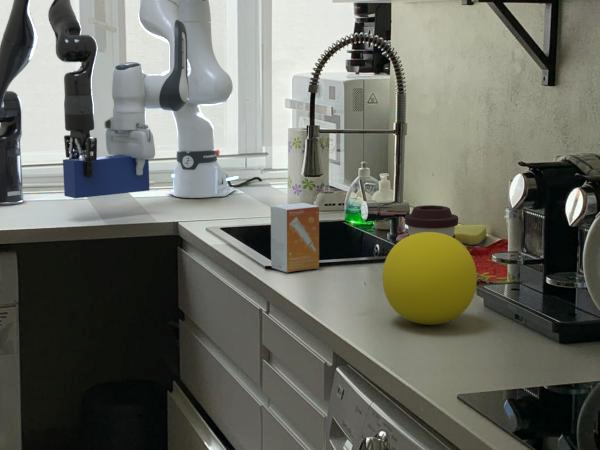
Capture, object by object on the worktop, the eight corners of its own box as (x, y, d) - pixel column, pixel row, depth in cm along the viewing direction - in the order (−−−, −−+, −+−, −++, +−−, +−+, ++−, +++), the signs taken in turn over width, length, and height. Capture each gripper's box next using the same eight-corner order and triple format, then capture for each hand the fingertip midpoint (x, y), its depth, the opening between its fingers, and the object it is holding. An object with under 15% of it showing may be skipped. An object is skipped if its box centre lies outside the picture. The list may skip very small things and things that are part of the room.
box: (75, 198, 273) (73, 161, 271) (64, 195, 277) (62, 159, 276) (149, 190, 287) (148, 155, 285) (137, 188, 291) (136, 153, 290)
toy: (446, 307, 181) (447, 222, 179) (492, 329, 167) (494, 237, 165) (367, 316, 176) (367, 228, 174) (408, 339, 162) (408, 244, 160)
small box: (287, 273, 210) (286, 209, 208) (270, 268, 216) (269, 205, 213) (320, 268, 215) (319, 205, 213) (303, 263, 220) (302, 202, 218)
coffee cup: (400, 280, 202) (400, 204, 200) (450, 279, 203) (451, 203, 201) (409, 292, 193) (410, 212, 190) (462, 291, 193) (463, 211, 191)
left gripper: (105, 112, 270) (107, 176, 273) (79, 110, 281) (81, 172, 284) (79, 114, 266) (81, 179, 269) (53, 111, 277) (56, 174, 280)
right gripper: (160, 124, 278) (161, 176, 280) (121, 120, 293) (122, 169, 296) (139, 125, 274) (141, 177, 276) (101, 121, 289) (103, 171, 292)
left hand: (81, 175), depth 276 cm, fingers closed on box, 6 cm apart
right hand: (131, 173), depth 286 cm, fingers closed on box, 6 cm apart
